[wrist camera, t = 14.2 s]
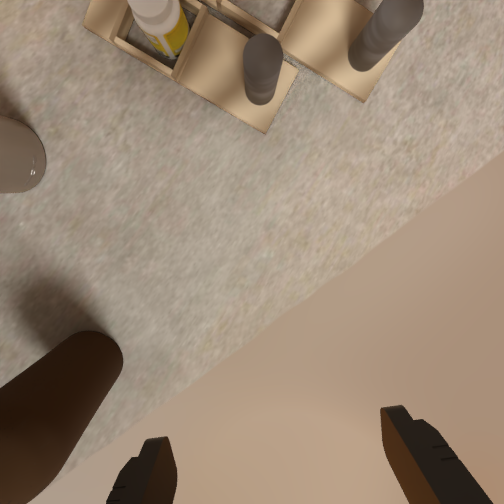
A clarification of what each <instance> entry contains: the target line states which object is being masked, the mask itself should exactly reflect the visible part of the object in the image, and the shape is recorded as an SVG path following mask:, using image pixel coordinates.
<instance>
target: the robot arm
mask: <svg viewBox="0 0 504 504" xmlns="http://www.w3.org/2000/svg"><path fill="white" fill-rule="evenodd" d="M45 167H46V158H45V152H44V149H43V146H42V144H41V142H40V140H39V139H38V137H37V135H36V134H35V133H34V132H33V131H32V130H31V129H30V128H29V127H27V126H26V125H25V124H23V123H21V122H19V121H18V120H15V119H11V118H8V117H4V116H1V115H0V193H20V192H25V191H28V190H30V189H32V188H33V187H35V186H36V185H37V184H38V183H39V182H40V180H41V178H42V177H43V175H44V171H45ZM380 414H381V427H382V441H383V447H384V451H385V454H386V457H387V459H388V461H389V464H390V466H391V468H392V470H393V472H394V474H395V476H396V478H397V480H398V482H399V484H400V486H401V488H402V489H403V492H404V494H405V496H406V498H407V500H408V502H409V504H493V503H492V501H491V500H490V499H489V497H488V496H487V495H486V493H485V492H484V491H483V489H482V488H481V487H480V485H479V484H478V483H477V482H476V480H475V479H474V478H473V476H472V475H471V474H470V472H469V471H468V470H467V468H466V467H465V466H464V464H463V463H462V462H461V461H460V460H459V459H458V457H457V455H456V454H455V453H454V451H453V450H452V449H451V448H450V447H449V445H448V443H447V442H446V441H445V440H444V438H443V437H442V436H441V434H440V433H439V432H438V430H436V429H435V428H434V427H432V426H431V425H430V424H428V423H427V422H426V421H424V420H423V419H420V420H413V419H412V417H411V416H410V415H409V413H408V412H407V410H406V409H405V407H404V406H402V405H398V406H390V407H383V408H381V409H380ZM176 487H177V467H176V464H175V460H174V457H173V453H172V449H171V445H170V442H169V439H168V437H158V438H151V439H147V440H146V441H145V442H144V444H143V447H142V449H141V451H140V454H139V456H138V457H132V458H131V459H130V460H129V461H128V462H127V464H126V465H125V466H124V467H123V468H122V470H121V471H120V473H119V475H118V477H117V479H116V482H115V483H114V486H113V490H112V491H111V492H110V494H109V496H108V499H107V501H106V504H173V500H174V495H175V492H176Z"/></svg>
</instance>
